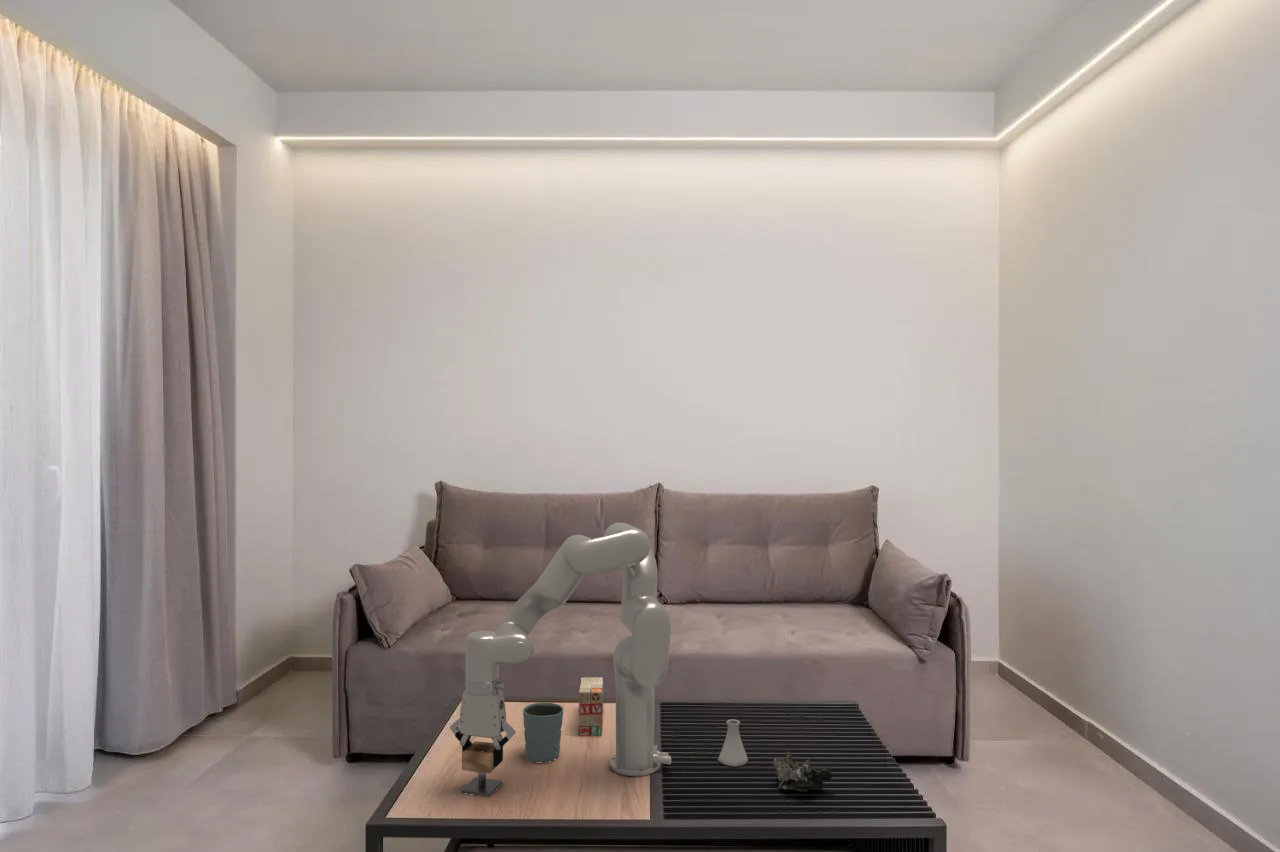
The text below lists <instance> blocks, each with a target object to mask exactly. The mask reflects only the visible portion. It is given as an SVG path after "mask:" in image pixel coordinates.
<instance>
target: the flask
mask: <svg viewBox="0 0 1280 852" xmlns="http://www.w3.org/2000/svg"><path fill="white" fill-rule="evenodd" d="M725 724H727V732H726V737H725V740H724V743H723V746H722V749H721V751H720V754H719V756H718V758H717V761H718V762H720V763H721V764H723V765H725V766H729V767H734V768H736V767H740V766H744V765H746V763H748V761H749V758H748V756H747V755H748V754H747V752H746V749H745V747H744V745H743V742H742V739H741V734H740V729H739V728H740V727H739V726H740V725H741V721H739V720H737V719H732V718H731V719H728V720H727V721H726V722H725Z"/></svg>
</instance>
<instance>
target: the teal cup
mask: <svg viewBox="0 0 1280 852" xmlns="http://www.w3.org/2000/svg"><path fill="white" fill-rule="evenodd" d="M563 707H564V706H561V704H557V703H554V702H537V703H535V702H534V703H531V704H528V705H526V706H525V707H523V709H522V715H523V727H524V735H523V736H524V741H525V744H524V753H525V759H526V758H527V759H528V760H529V762H531V761H532V762H531V763H534V762H539V763H538V764H541V763H540V762H547V763H550V762H549V761H551V762H554V761H555V760H554V759H556V760H558V758H559V757H560V750H561V739H562V738H561V737H562V730H561V729H562V727H563V720H564V719H563V718H564V717H563V716H564V708H563ZM527 759H526V760H527ZM528 760H527V761H528ZM553 760H554V761H553Z"/></svg>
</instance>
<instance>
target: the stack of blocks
mask: <svg viewBox="0 0 1280 852" xmlns="http://www.w3.org/2000/svg"><path fill="white" fill-rule="evenodd" d="M578 690H579V692H578V694H579V695H578V697H579V698H578V721H579V722H578V723H579V724H578V737H602V736H603V725H604V722H603V721H604V718H603V717H604V677H601V676H599V677H597V676H595V677H593V676H592V677H581V678H580V686H579V689H578Z"/></svg>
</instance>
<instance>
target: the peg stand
mask: <svg viewBox="0 0 1280 852" xmlns="http://www.w3.org/2000/svg"><path fill="white" fill-rule="evenodd" d="M481 752H484V751H481ZM477 773H478V775H477V776H475V777H473V778H472V779H471V780H470V781H469V782H468V783H467V784H466V785H465V786H464V787H463V788H462V789H461V794H462V793H467V794H466V795H469V794H473V795H472V796H477V795H482V796H481V797H485V796H488V797H487V798H490V797H492V795H494V793H496V791H497V790H498V789H499V788H500V787H501V786H502V785H503V780H500V779H494V778H487V773H482V772H477ZM501 784H502V785H501ZM500 785H501V786H500ZM499 786H500V787H499ZM498 787H499V788H498ZM497 788H498V789H497ZM496 789H497V790H496Z"/></svg>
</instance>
